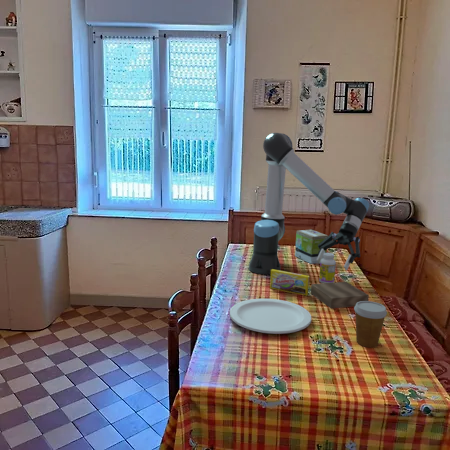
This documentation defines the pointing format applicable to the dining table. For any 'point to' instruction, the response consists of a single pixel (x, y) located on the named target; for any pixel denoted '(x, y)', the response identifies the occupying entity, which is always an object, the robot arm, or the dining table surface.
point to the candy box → (289, 282)
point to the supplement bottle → (327, 268)
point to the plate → (270, 316)
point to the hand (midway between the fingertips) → (331, 265)
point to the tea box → (308, 245)
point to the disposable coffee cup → (369, 322)
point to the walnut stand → (338, 294)
